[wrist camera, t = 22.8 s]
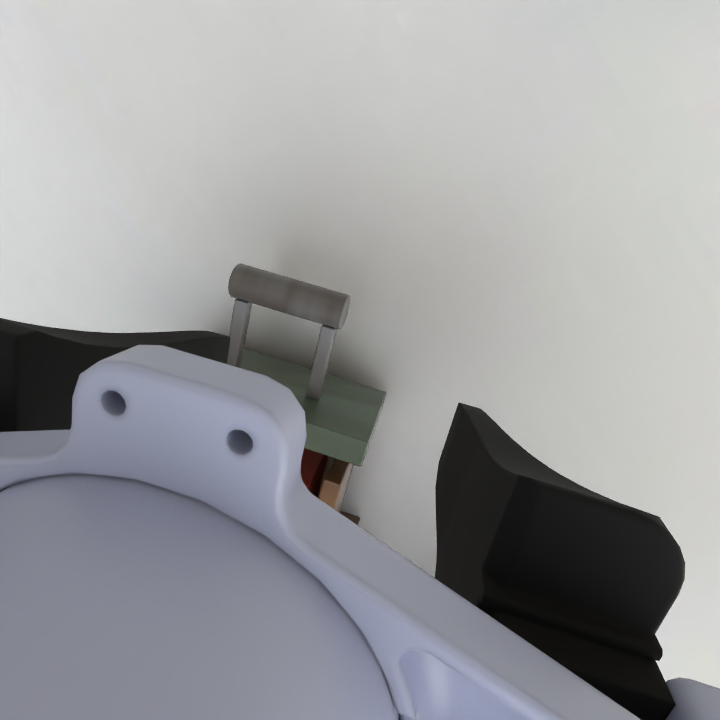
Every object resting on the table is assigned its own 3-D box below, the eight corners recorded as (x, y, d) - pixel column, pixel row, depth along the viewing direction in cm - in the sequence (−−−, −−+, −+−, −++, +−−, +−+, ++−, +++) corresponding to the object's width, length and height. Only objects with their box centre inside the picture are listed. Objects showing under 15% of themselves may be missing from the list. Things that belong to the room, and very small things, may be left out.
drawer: (218, 243, 23) (148, 250, 18) (414, 300, 22) (403, 326, 17) (177, 519, 29) (115, 588, 23) (332, 574, 28) (304, 659, 22)
